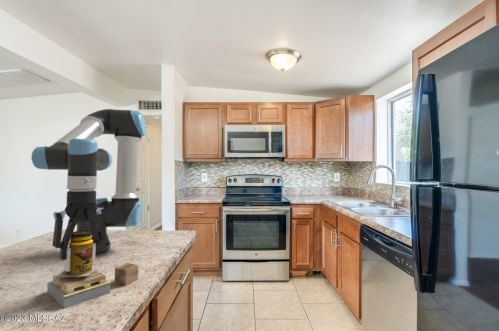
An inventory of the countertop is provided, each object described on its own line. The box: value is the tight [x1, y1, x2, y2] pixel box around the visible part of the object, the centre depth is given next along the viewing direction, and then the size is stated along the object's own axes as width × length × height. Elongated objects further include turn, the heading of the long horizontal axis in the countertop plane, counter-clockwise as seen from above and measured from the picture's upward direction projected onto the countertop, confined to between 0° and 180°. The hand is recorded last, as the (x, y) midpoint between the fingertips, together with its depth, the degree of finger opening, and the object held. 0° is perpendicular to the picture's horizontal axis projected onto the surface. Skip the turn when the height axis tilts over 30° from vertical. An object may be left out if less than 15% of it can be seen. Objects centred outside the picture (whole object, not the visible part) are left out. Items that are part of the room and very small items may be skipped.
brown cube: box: [114, 262, 139, 286], centre depth 88 cm, size 5×5×5 cm
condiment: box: [56, 230, 98, 277], centre depth 79 cm, size 7×8×12 cm
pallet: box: [52, 268, 107, 294], centre depth 79 cm, size 12×10×2 cm
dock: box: [46, 279, 112, 309], centre depth 79 cm, size 14×12×3 cm
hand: (79, 266), depth 79 cm, fingers closed on condiment, 6 cm apart
